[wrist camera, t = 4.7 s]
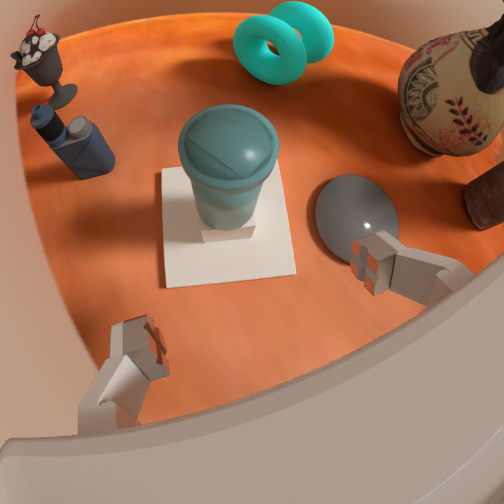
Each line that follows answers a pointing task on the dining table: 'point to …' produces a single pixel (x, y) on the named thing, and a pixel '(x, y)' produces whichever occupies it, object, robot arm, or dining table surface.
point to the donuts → (283, 42)
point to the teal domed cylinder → (227, 162)
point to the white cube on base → (224, 237)
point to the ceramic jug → (454, 92)
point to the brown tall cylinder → (486, 198)
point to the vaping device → (74, 142)
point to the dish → (352, 213)
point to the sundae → (44, 64)
